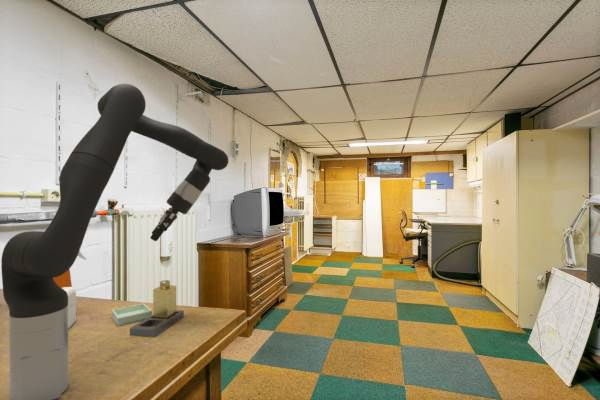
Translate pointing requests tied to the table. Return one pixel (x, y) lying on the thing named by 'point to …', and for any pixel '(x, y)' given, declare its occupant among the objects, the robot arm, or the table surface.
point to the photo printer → (71, 305)
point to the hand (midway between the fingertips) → (153, 237)
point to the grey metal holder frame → (155, 325)
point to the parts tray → (131, 314)
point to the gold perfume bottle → (164, 300)
